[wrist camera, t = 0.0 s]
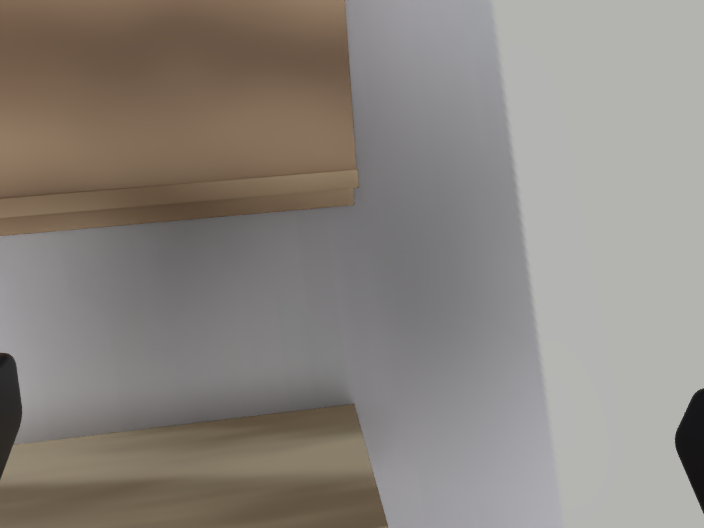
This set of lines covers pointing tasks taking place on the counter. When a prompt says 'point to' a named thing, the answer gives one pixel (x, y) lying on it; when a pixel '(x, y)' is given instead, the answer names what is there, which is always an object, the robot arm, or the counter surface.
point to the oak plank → (200, 476)
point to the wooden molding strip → (171, 111)
